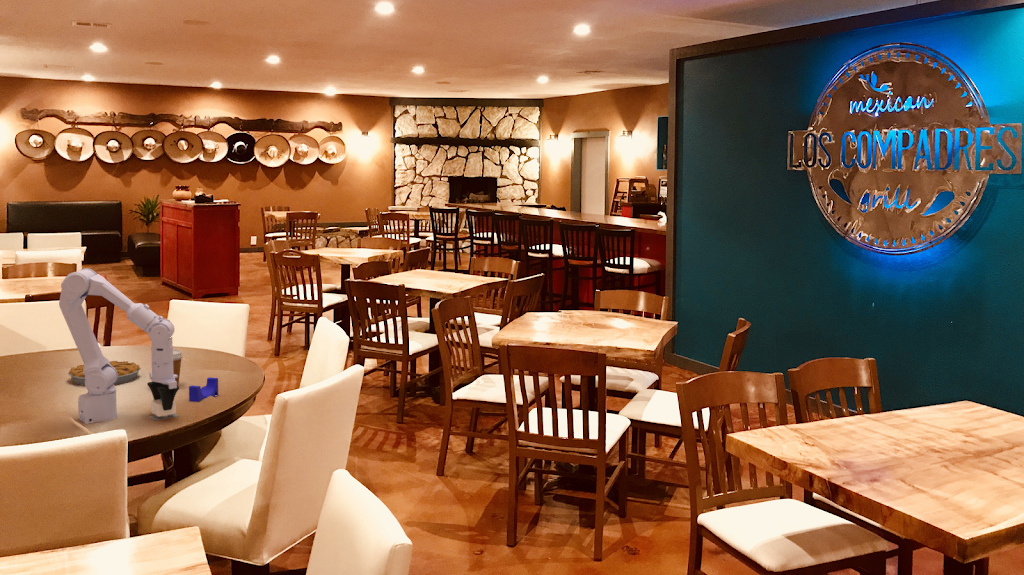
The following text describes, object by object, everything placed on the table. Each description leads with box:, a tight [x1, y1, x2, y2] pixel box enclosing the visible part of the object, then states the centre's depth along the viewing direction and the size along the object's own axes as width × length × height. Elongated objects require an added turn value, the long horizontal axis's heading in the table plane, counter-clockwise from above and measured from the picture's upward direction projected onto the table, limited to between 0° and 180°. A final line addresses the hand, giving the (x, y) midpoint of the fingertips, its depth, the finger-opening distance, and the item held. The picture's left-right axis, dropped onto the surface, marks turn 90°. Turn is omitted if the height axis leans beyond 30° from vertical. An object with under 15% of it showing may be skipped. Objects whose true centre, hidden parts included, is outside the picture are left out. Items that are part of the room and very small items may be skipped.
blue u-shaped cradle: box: [188, 376, 219, 403], centre depth 255 cm, size 12×4×6 cm, turn 171°
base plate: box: [148, 414, 179, 422], centre depth 234 cm, size 7×5×1 cm
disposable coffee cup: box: [173, 349, 184, 386], centre depth 268 cm, size 10×10×12 cm
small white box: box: [150, 399, 177, 417], centre depth 233 cm, size 5×5×4 cm
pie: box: [67, 360, 142, 386], centre depth 276 cm, size 22×22×5 cm
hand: (163, 407), depth 233 cm, fingers closed on small white box, 5 cm apart
